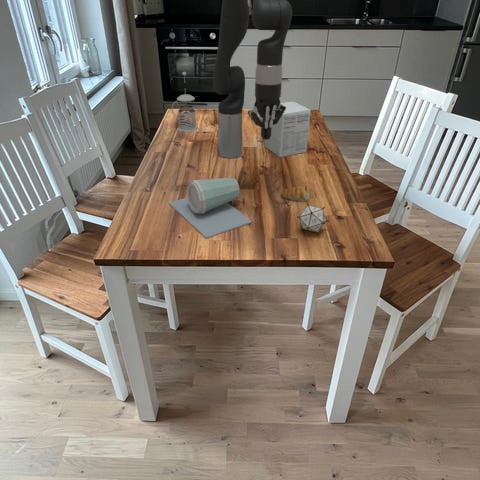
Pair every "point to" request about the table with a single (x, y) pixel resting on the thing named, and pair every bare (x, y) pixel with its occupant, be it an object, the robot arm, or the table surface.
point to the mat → (211, 218)
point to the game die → (312, 218)
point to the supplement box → (290, 131)
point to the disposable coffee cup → (211, 193)
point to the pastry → (296, 194)
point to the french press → (186, 113)
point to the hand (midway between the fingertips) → (265, 138)
